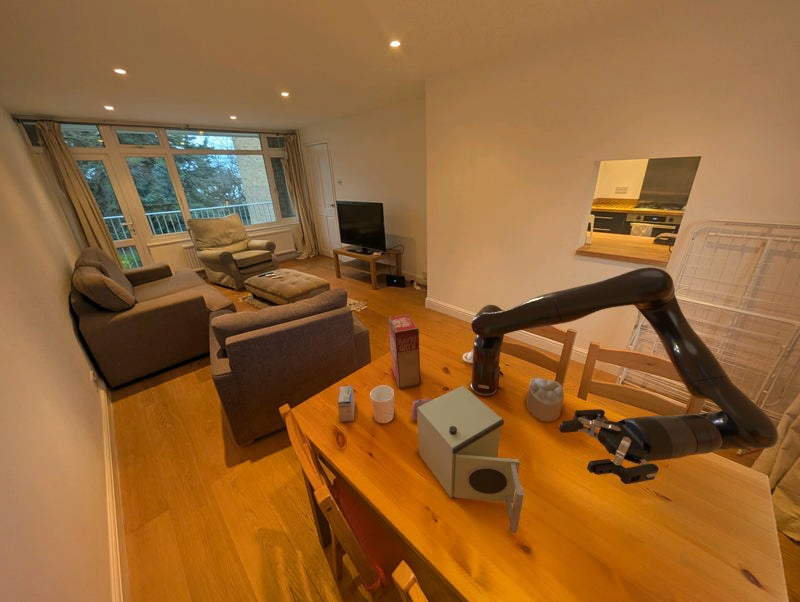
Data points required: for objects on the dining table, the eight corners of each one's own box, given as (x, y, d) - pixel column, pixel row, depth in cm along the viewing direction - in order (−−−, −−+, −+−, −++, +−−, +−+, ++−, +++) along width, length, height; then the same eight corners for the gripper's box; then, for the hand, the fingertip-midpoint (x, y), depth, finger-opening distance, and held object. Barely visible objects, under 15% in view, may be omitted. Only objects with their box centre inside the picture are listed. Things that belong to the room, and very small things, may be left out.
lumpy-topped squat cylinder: (559, 398, 103) (563, 378, 100) (561, 425, 93) (566, 404, 89) (527, 391, 108) (530, 372, 104) (525, 416, 97) (529, 396, 93)
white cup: (398, 410, 102) (397, 387, 98) (390, 427, 96) (388, 403, 91) (378, 405, 105) (375, 383, 101) (369, 422, 98) (366, 399, 94)
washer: (460, 430, 93) (463, 382, 85) (497, 468, 81) (504, 417, 73) (418, 453, 86) (416, 404, 78) (452, 499, 74) (454, 446, 66)
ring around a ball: (465, 367, 122) (484, 366, 122) (466, 356, 120) (485, 354, 120) (460, 357, 129) (478, 355, 130) (460, 346, 127) (478, 344, 128)
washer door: (512, 500, 72) (519, 459, 66) (520, 538, 64) (528, 496, 58) (454, 494, 74) (455, 453, 68) (455, 530, 66) (457, 488, 60)
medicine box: (343, 405, 106) (339, 386, 102) (355, 404, 106) (352, 385, 102) (340, 422, 99) (337, 402, 95) (354, 421, 99) (351, 401, 95)
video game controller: (441, 418, 100) (440, 398, 100) (441, 423, 95) (441, 402, 96) (412, 417, 101) (412, 397, 101) (411, 422, 96) (411, 401, 97)
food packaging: (391, 368, 124) (387, 316, 114) (412, 364, 126) (410, 312, 116) (398, 389, 112) (394, 332, 102) (422, 384, 114) (420, 328, 104)
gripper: (684, 486, 51) (595, 497, 50) (621, 422, 64) (549, 429, 63) (700, 457, 48) (605, 467, 47) (631, 395, 61) (555, 403, 60)
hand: (573, 446), depth 55 cm, fingers open, 8 cm apart
